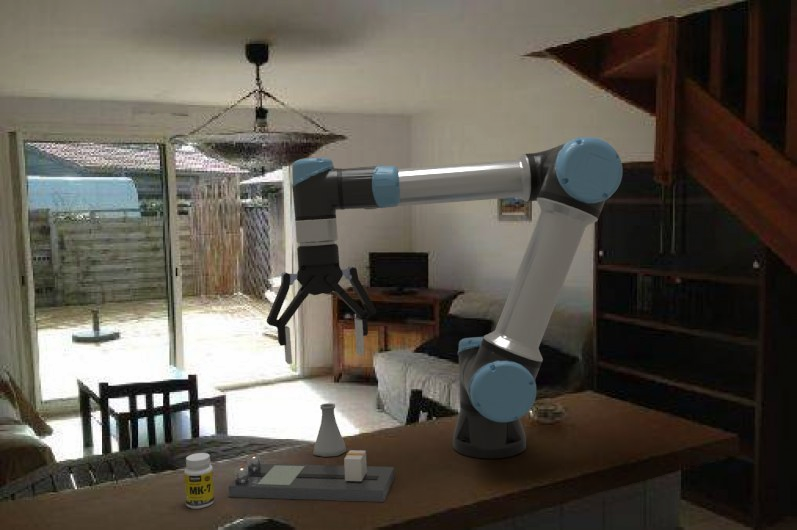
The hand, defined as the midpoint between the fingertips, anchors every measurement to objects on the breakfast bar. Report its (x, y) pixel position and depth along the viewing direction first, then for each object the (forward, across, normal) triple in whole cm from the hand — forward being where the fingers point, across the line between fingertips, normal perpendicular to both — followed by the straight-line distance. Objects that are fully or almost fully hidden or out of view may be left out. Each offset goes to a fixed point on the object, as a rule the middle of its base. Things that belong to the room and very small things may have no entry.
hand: (325, 358), depth 127 cm
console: (+23, +4, +3) cm, 23 cm away
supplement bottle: (+23, +24, +2) cm, 33 cm away
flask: (+23, -3, -14) cm, 27 cm away
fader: (+21, -3, +7) cm, 22 cm away
